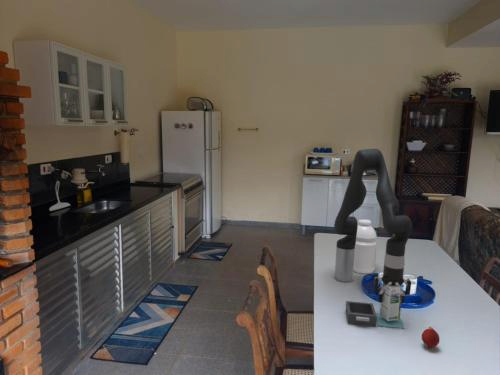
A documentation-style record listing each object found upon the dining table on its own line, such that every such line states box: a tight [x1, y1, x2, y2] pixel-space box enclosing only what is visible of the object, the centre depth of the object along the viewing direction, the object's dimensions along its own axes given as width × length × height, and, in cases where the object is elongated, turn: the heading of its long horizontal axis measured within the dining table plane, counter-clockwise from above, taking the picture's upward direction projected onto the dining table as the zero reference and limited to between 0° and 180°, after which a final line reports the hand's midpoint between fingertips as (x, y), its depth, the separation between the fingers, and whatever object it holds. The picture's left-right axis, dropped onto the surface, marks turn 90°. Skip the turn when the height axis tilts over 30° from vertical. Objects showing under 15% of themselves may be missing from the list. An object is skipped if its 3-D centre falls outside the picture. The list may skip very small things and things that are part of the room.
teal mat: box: [376, 312, 406, 330], centre depth 152 cm, size 10×10×1 cm
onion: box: [421, 326, 440, 349], centre depth 134 cm, size 6×6×8 cm
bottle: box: [353, 219, 378, 275], centre depth 203 cm, size 14×14×28 cm
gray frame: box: [344, 300, 378, 328], centre depth 153 cm, size 12×11×4 cm
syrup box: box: [379, 281, 403, 321], centre depth 150 cm, size 6×6×14 cm
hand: (390, 302), depth 151 cm, fingers closed on syrup box, 7 cm apart
